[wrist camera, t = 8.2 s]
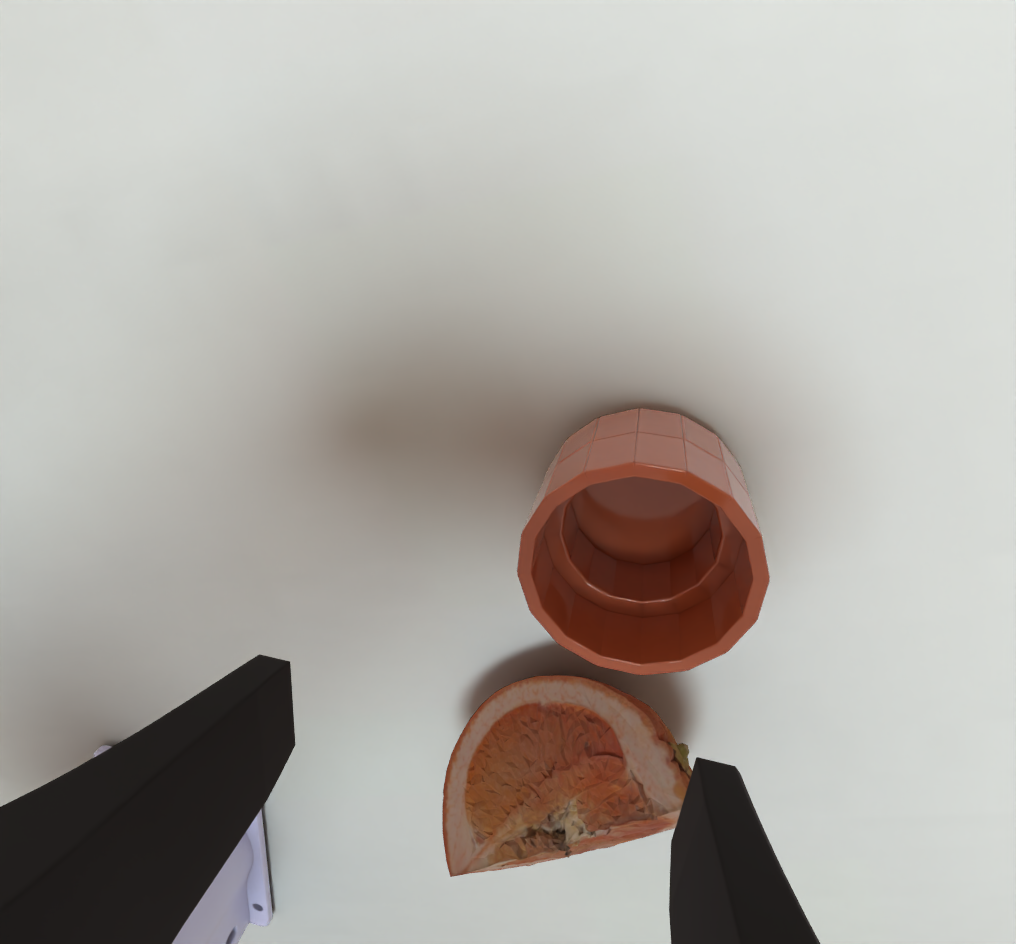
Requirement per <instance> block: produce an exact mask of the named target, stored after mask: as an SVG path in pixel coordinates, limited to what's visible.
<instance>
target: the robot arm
mask: <svg viewBox="0 0 1016 944" xmlns="http://www.w3.org/2000/svg"><path fill="white" fill-rule="evenodd" d="M294 746H295V734H294V717H293V701H292V685H291V668H290V662H289V661H285V660H280V659H276V658H272V657H268V656H263V655H258V656H256V657H255V658H253V659H252V660H250V661H248V662H247V663H245V664H244V665H242V666H240V667H239V668H237V669H236V670H234V671H233V672H231V673H230V674H228V675H227V676H225V677H224V678H222V679H220V680H219V681H217V682H216V683H214V684H213V685H211V686H210V687H208V688H207V689H205V690H203V691H202V692H200V693H199V694H197V695H196V696H194V697H193V698H191V699H190V700H188V701H186V702H185V703H183V704H182V705H180V706H179V707H177V708H175V709H174V710H172V711H171V712H169V713H167V714H166V715H164V716H163V717H161V718H160V719H158V720H156V721H155V722H153V723H152V724H150V725H148V726H147V727H145V728H144V729H142V730H140V731H139V732H137V733H135V734H134V735H132V736H130V737H128V738H127V739H125V740H123V741H122V742H120V743H118V744H116V745H115V746H113V747H111V746H106V745H103V746H100V747H99V748H98V749H97V750H96V751H95V753H94V758H92V759H91V760H89V761H87V762H85V763H84V764H82V765H80V766H79V767H77V768H75V769H73V770H71V771H70V772H68V773H66V774H64V775H62V776H60V777H58V778H57V779H55V780H53V781H51V782H49V783H47V784H45V785H43V786H41V787H39V788H38V789H36V790H34V791H32V792H30V793H27V794H25V795H23V796H21V797H19V798H17V799H15V800H13V801H11V802H9V803H7V804H5V805H3V806H1V807H0V944H237V943H238V942H239V940H240V938H241V936H242V934H243V933H244V931H245V929H246V927H247V926H248V924H249V923H253V924H256V925H259V926H267V925H269V923H270V921H271V919H272V917H273V913H272V904H271V894H270V885H269V875H268V866H267V857H266V847H265V838H264V828H263V819H262V809H261V808H262V807H263V805H264V804H265V802H266V801H267V799H268V797H269V795H270V793H271V791H272V789H273V788H274V786H275V784H276V782H277V780H278V778H279V776H280V774H281V772H282V770H283V768H284V766H285V764H286V762H287V760H288V758H289V756H290V754H291V752H292V750H293V748H294ZM669 913H670V929H671V944H820V942H819V940H818V938H817V937H816V935H815V933H814V931H813V929H812V927H811V925H810V923H809V922H808V920H807V918H806V916H805V914H804V912H803V910H802V908H801V906H800V904H799V902H798V900H797V898H796V896H795V894H794V892H793V890H792V888H791V886H790V884H789V882H788V880H787V878H786V876H785V874H784V872H783V870H782V868H781V866H780V863H779V861H778V859H777V857H776V855H775V853H774V851H773V849H772V846H771V844H770V842H769V840H768V838H767V835H766V833H765V831H764V829H763V827H762V824H761V822H760V820H759V818H758V815H757V813H756V811H755V808H754V806H753V804H752V801H751V799H750V796H749V794H748V792H747V789H746V787H745V784H744V782H743V779H742V777H741V774H740V772H739V771H738V770H737V768H736V767H735V766H731V765H727V764H723V763H719V762H714V761H710V760H706V759H702V758H696V761H695V764H694V768H693V771H692V774H691V778H690V781H689V784H688V788H687V791H686V794H685V798H684V801H683V804H682V808H681V811H680V814H679V818H678V821H677V824H676V828H675V831H674V834H673V838H672V841H671V867H670V903H669Z"/></svg>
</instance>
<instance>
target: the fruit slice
mask: <svg viewBox="0 0 1016 944" xmlns="http://www.w3.org/2000/svg"><path fill="white" fill-rule="evenodd" d="M688 753H689V750H688V745H686V744H683V743H681V744H677V743H676V741H675V739H674V737H673V735H672V734H671V732H670V730H669V729H668V728H667V727H666V725H665V724H664V723H663V721H662V720H661V718H660V717H659V715H658V714H657V713H656V712H655V711H654V710H653V709H652V708H651V707H650V706H648V705H647V704H645V703H643V702H642V701H640V700H638V699H637V698H635V697H633V696H632V695H629V694H626V693H624V692H622V691H620V690H618V689H616V688H614V687H612V686H610V685H608V684H605V683H602V682H599V681H596V680H593V679H588V678H584V677H579V676H563V675H555V676H535V677H531V678H527V679H524V680H521V681H517V682H515V683H512V684H510V685H508V686H505V687H503V688H502V689H500V690H498V691H497V692H495V693H494V694H493V695H492V696H490V697H489V698H488V699H487V700H486V701H485V702H484V703H483V704H482V705H481V706H480V707H479V708H478V710H477V711H476V712H475V713H474V715H473V716H472V717H471V719H470V720H469V722H468V723H467V725H466V727H465V728H464V730H463V732H462V734H461V735H460V737H459V739H458V741H457V743H456V745H455V747H454V750H453V752H452V754H451V758H450V761H449V764H448V768H447V771H446V778H445V783H444V790H443V794H444V797H443V838H444V846H445V853H446V860H447V865H448V869H449V873H450V877H451V876H458V875H463V874H468V873H476V872H485V871H494V870H501V869H506V868H514V867H519V866H530V865H533V864H536V863H540V862H545V861H550V860H555V859H560V858H565V857H568V858H569V856H571V855H575V854H581V853H584V852H587V851H590V850H595V849H600V848H608V847H611V846H615V845H617V844H620V843H624V842H628V841H631V840H635V839H639V838H643V837H646V836H650V835H653V834H656V833H660V832H663V831H667V830H670V829H674V828H676V824H677V821H678V818H679V814H680V811H681V808H682V804H683V801H684V798H685V794H686V791H687V788H688V784H689V781H690V778H691V774H692V770H691V768H690V766H689V763H688V758H687V756H688Z"/></svg>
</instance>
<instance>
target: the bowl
mask: <svg viewBox="0 0 1016 944" xmlns="http://www.w3.org/2000/svg"><path fill="white" fill-rule="evenodd" d="M517 573H518V577H519V580H520V583H521V586H522V589H523V592H524V595H525V598H526V601H527V604H528V607H529V610H530V611H531V613H532V614H533V616H534V617H535V618H536V619H537V620H538V621H539V623H540V624H541V625H542V626H543V627H544V628H545V630H546V631H547V632H548V633H549V634H550V635H551V636H552V638H553V639H554V640H555V641H556V642H557V643H558V644H559V645H561V646H563V647H564V648H566V649H568V650H570V651H571V652H573V653H575V654H577V655H578V656H580V657H582V658H583V659H585V660H587V661H589V662H590V663H592V664H594V665H597V666H600V667H604V668H609V669H613V670H618V671H623V672H627V673H632V674H637V675H640V674H641V675H650V674H661V673H671V672H682V671H686V670H690V669H692V668H694V667H696V666H699V665H701V664H703V663H705V662H707V661H709V660H712V659H714V658H716V657H718V656H720V655H723V654H725V653H726V652H728V651H729V650H730V649H731V648H732V647H733V646H734V645H735V644H736V643H737V641H738V640H739V639H740V638H741V637H742V636H743V635H744V634H745V633H746V632H747V631H748V630H749V629H750V628H751V627H752V626H753V624H754V623H755V622H756V620H757V619H758V616H759V613H760V610H761V607H762V603H763V600H764V597H765V594H766V591H767V587H768V584H769V578H770V576H769V571H768V566H767V560H766V555H765V550H764V544H763V539H762V535H761V531H760V528H759V525H758V522H757V518H756V515H755V512H754V508H753V505H752V502H751V499H750V496H749V492H748V489H747V486H746V482H745V479H744V476H743V473H742V470H741V468H740V465H739V464H738V462H737V461H736V460H735V458H734V457H733V456H732V454H731V453H730V451H729V450H728V449H727V447H726V446H725V445H724V443H723V442H722V441H721V439H720V438H719V437H717V436H716V434H714V433H713V432H711V431H709V430H708V429H706V428H704V427H702V426H701V425H699V424H697V423H695V422H694V421H692V420H690V419H689V418H687V417H685V416H683V415H681V414H677V413H671V412H664V411H657V410H651V409H644V408H639V409H637V408H636V409H632V410H627V411H623V412H618V413H614V414H609V415H605V416H601V417H599V418H596V419H595V420H593V421H592V422H590V423H589V424H587V425H586V426H585V427H583V428H582V429H580V430H579V431H577V432H576V433H574V434H573V435H572V436H570V437H569V438H568V439H567V441H566V442H564V444H563V445H562V447H561V448H560V450H559V452H558V453H557V455H556V456H555V458H554V460H553V461H552V463H551V465H550V466H549V468H548V470H547V473H546V475H545V478H544V480H543V482H542V485H541V487H540V490H539V492H538V495H537V497H536V499H535V501H534V504H533V506H532V509H531V511H530V514H529V516H528V519H527V521H526V523H525V526H524V528H523V531H522V534H521V541H520V550H519V559H518V568H517Z"/></svg>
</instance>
